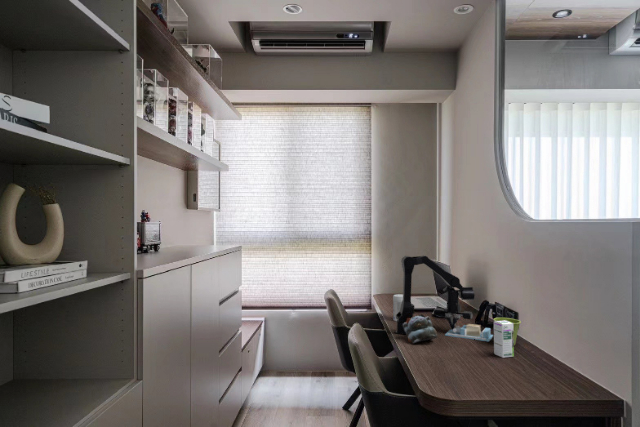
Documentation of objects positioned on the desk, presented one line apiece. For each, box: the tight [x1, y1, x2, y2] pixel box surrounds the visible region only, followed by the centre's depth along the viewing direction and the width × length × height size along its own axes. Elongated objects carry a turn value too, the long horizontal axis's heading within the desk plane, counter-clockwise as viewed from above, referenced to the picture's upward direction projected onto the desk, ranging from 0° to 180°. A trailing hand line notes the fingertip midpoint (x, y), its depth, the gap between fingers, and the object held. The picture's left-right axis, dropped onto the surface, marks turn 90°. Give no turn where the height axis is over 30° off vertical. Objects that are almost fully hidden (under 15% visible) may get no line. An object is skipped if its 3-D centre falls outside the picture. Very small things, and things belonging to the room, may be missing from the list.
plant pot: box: [493, 317, 522, 346], centre depth 199 cm, size 12×12×11 cm
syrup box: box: [493, 320, 515, 359], centre depth 182 cm, size 6×6×14 cm
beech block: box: [466, 323, 482, 337], centre depth 212 cm, size 4×6×5 cm, turn 59°
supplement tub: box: [392, 293, 403, 323], centre depth 246 cm, size 10×10×15 cm
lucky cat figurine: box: [403, 314, 438, 345], centre depth 204 cm, size 15×12×14 cm
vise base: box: [444, 327, 494, 342], centre depth 213 cm, size 12×21×4 cm, turn 59°
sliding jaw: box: [453, 324, 467, 336], centre depth 215 cm, size 9×6×4 cm
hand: (452, 330), depth 218 cm, fingers closed
